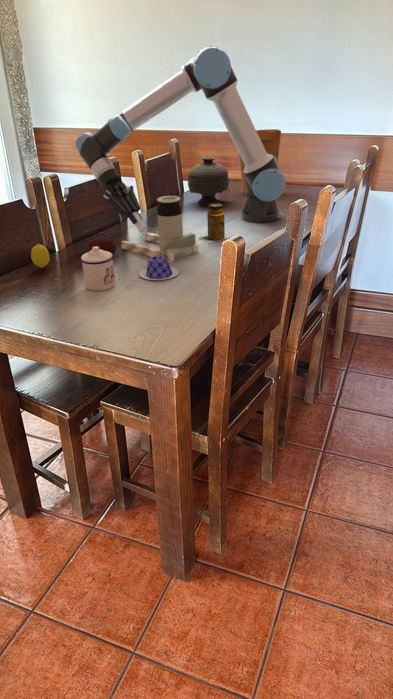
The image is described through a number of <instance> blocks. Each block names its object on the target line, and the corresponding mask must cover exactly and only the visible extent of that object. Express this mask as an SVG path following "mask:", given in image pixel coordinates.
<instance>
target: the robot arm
mask: <svg viewBox="0 0 393 699" xmlns="http://www.w3.org/2000/svg"><path fill="white" fill-rule="evenodd" d="M231 65H232V64H231V60H230V57H229V55H228V54H227V52H226V51H225V50H223V49H222V48H220V47H218V46H216V45H215V46H214V45H210V46H205V47H204V48H202V49H200V50H199V51H198V52H197V53H196V54H195V55H194V56H193V57H192V58H191V59H190V60H189V61H187V62H186V63H185V64H183V65H182V66H181V70H180V71H179V72H177V73H176V74H174V75H173V76H171V77H170V78H169V79H167V80H166V81H164V82H163V83H161V84H160V85H158V86H157V87H155V88H154V89H153V90H151V91H149V92H148V93H147V94H145V95H144V96H143V97H141V98H139V99H138V100H137V101H135V102H134V103H132V104H131V105H129V106H128V107H126V108H125V109H124V110H122V111H120V113H119V112H118V114H116V115H115V116H112V117H111V118H110V119H108V120H107V122H106V123H105V124H104V125H102V127H101V128H100V129H99V130H98V131H96V133H94V134H93V133H91V132H85V133H83V134H81V135H79V136H78V137H77V139H76V141H75V143H74V144H75V148H76V150H77V152H78V153H79V156H80V157H81V158H82V160H83V161H84V163H85V164H86V166H87V167H88V168H89V169H90V172H91V173H92V175H93V176H94V178H95V180H97V182H98V183H99V185H100V186H101V188H102V190H104V194H103V195H102V199H103V200H105V201H107V202H108V203H109V205H110V206H112V207H113V209H114V210H116V212H118V214H119V215H120V216H121V217H122V218H126V219H129V220H130V222H131V224H133V225H134V226H135V227H136V228H137V230H138V232H139V233H140V234H141V233H144V231H145V230H146V229H147V225H146V224H145V223H144V220H143V218H142V216H141V215H140V214H141V213H139V211H140V210H141V206H140V203H139V200H138V199H137V196H136V193H135V191H134V186H133V185H129V186H128V185H127V184H126V183H125V182H123V180H122V176H121V175H120V174H119V172H118V170H117V169H116V168H115V166H114V164H113V163H112V161H111V160H110V159H109V157H108V154H109V153H110V152H112V150H113V149H114V148H116V147H117V146H118V145H119V144H120V143H122V142H123V141H124V140H126V138H127V137H128V136H130V135H131V133H133V132H134V131H135V130H137V129H138V128H139V127H141V126H143V125H144V124H146V123H147V122H149V121H150V120H151V119H153V118H155V117H156V116H157V115H159V114H161V113H162V112H164V111H165V110H167V109H169V108H170V107H171V106H172V105H174V104H176V103H177V102H178V101H180V100H182V99H183V98H185V97H187V96H188V95H189V94H191V93H193V92H194V93H198V92H200V91H202V92H203V94H204V97H205V99H206V100H208V101H211V102H213V105H215V108H216V110H217V112H218V114H219V116H220V117H221V118H220V119H222V121H223V123H224V126H225V128H226V129H227V131H228V134H229V136H230V138H231V140H232V142H233V144H234V146H235V148H236V150H237V152H238V155H239V154H240V156H241V158H242V160H243V162H244V164H245V168H244V171H243V172H244V174H245V176H246V193H245V201H244V203H243V207H242V209H241V219H242V220H244V221H247V222H252V223H268V222H275V221H277V220H279V219H280V216H281V213H280V211H281V210H280V207H279V203H278V201H277V200H278V199H279V198H280V197H281V196H282V195H283V192H284V191H285V188H286V178H285V175H284V174H283V172H282V171H281V170H280V168H279V162H278V163H277V158H276V157H273V155H271V154H267V153H266V150H265V148H264V146H263V144H262V142H261V140H260V138H259V136H258V134H257V131H256V130H257V129H256V128H255V125H254V124H253V120H252V118H251V117H250V115H249V113H248V110H247V108H246V106H245V105H244V101H243V100H242V97H241V96H240V94H239V91H238V89H237V84H238V78H237V76H236V73H235V72H234V69H233V67H232V66H231Z"/></svg>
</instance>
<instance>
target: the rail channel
mask: <svg viewBox="0 0 393 699" xmlns="http://www.w3.org/2000/svg"><path fill="white" fill-rule="evenodd" d="M145 241H147V242H148V241H149V242H151V243H155V244H159V234H157V233H152V232H149V231H148V232H146V233H145ZM120 244H121V249H123V250H126V251H129V252H133V253H136V254H140V255H143V256H147V257H150V258H151V257H154V256H163V257H166V258H167V259H168V261H169V264H170V263H173V262H175V260H178V259H180V258H182V257H185V256H187V255H190V254H197V253H199V244H197V243H196V233H193V232H190V233H187V234H183V236H181V237H178V238H175V239H173V240H170V241H167V242H164V243H163V247H164V251H161V250H160V249H158V248H153V247H150V246H147V245H146V246H145V245H143V244H138V243H135V242H131V241H127V240H121V241H120Z"/></svg>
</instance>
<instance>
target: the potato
mask: <svg viewBox="0 0 393 699" xmlns="http://www.w3.org/2000/svg"><path fill="white" fill-rule="evenodd" d="M95 246H97V247H99V249H101V250H103V251H108V252H110V253H111V254H112V255H113V254H114V253H115V252H116V251H117V245H116V244H115V242H114V241H113V240H112V239H109V238H107V237H101V236H100V237H94V238H92V239H90V240H89V241H88V242H87V249H88V252H89V251H91V250H92V248H93V247H95Z"/></svg>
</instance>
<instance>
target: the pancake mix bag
mask: <svg viewBox="0 0 393 699" xmlns="http://www.w3.org/2000/svg"><path fill="white" fill-rule="evenodd" d="M256 131H257V134H258V136H259V138H260V140H261V142H262V144H263V146H264V148H265V150H266V153H267V154H271V155H273V157H276V158H277V163H278V164H279V157H280V156H279V154H280V145H281V138H282V136H281V135H282V130H280V129H276V128H275V129H256ZM238 158H239V159H238V160H239V168H240V178H241V183H242V187H241V188H242V189H241V193H242V194H246V176H245V174H244V172H243V171H244V168H245V164H244V162H243V160H242V158H241V156H240V154H239V153H238Z"/></svg>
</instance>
